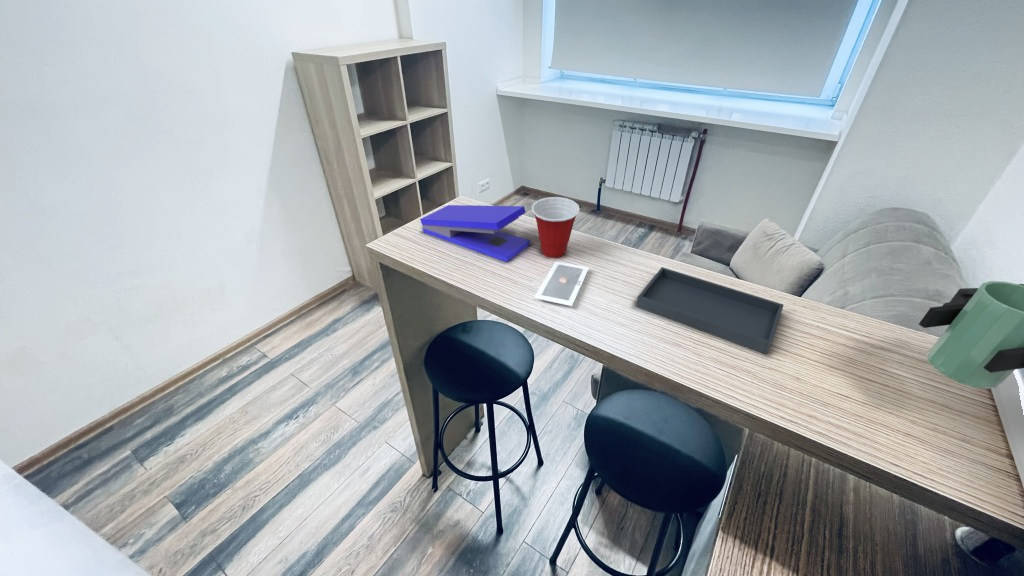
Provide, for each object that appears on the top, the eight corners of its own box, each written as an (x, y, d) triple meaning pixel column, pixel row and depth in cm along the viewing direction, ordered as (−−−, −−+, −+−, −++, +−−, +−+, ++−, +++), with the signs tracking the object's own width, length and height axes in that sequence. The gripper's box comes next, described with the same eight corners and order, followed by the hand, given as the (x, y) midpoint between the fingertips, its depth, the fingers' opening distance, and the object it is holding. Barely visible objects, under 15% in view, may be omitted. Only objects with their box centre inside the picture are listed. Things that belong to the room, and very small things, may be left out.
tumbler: (1014, 381, 49) (1086, 311, 43) (972, 394, 48) (1040, 323, 42) (952, 344, 55) (1008, 276, 48) (913, 354, 53) (965, 286, 47)
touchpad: (533, 302, 82) (533, 293, 81) (555, 265, 94) (555, 257, 92) (571, 310, 80) (572, 301, 79) (588, 271, 91) (589, 263, 90)
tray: (779, 314, 78) (783, 304, 76) (766, 354, 69) (771, 343, 68) (659, 276, 89) (661, 266, 88) (636, 306, 80) (638, 296, 79)
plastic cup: (528, 262, 95) (528, 215, 88) (533, 240, 104) (534, 195, 97) (575, 265, 93) (579, 218, 86) (576, 243, 102) (580, 198, 95)
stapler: (505, 263, 95) (503, 224, 89) (420, 232, 108) (414, 197, 103) (531, 243, 102) (532, 206, 97) (449, 217, 116) (445, 183, 110)
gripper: (1216, 401, 44) (1036, 430, 42) (1009, 295, 60) (870, 311, 58) (1291, 351, 40) (1095, 380, 37) (1047, 251, 56) (898, 266, 53)
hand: (959, 338), depth 48 cm, fingers closed on tumbler, 7 cm apart
